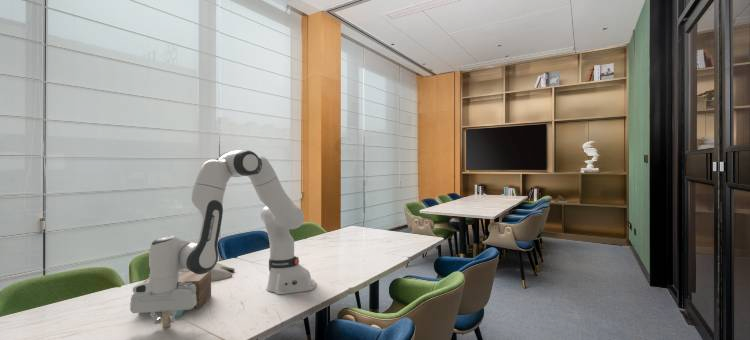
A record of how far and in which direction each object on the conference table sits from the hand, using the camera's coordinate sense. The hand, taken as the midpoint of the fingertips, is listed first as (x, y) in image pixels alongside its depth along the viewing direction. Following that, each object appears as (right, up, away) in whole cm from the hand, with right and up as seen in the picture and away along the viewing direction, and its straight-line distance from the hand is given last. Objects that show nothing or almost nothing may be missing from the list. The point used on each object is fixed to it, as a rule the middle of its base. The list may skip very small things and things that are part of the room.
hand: (164, 322), depth 116 cm
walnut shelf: (-8, -2, +22) cm, 23 cm away
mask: (-16, -3, +56) cm, 59 cm away
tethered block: (-2, -2, +7) cm, 8 cm away
